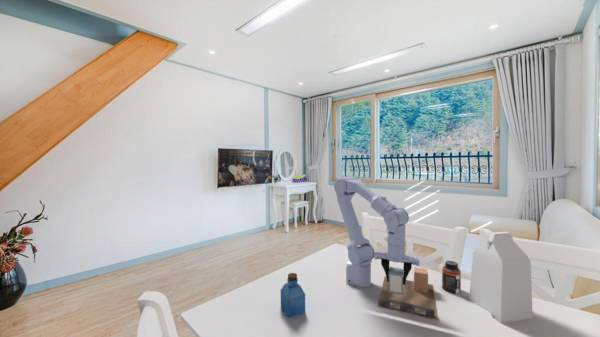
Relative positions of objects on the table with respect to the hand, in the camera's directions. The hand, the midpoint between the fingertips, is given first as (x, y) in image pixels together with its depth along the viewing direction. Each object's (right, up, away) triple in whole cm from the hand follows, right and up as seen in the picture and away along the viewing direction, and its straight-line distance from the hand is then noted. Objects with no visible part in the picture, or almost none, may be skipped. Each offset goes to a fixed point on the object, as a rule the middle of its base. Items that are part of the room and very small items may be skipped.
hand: (396, 282), depth 86 cm
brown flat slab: (+6, -7, +4) cm, 10 cm away
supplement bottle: (+24, -7, +7) cm, 26 cm away
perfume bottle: (-36, -8, -3) cm, 37 cm away
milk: (+33, -8, -4) cm, 34 cm away
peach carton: (+12, -6, +8) cm, 16 cm away
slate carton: (0, -3, 0) cm, 3 cm away
